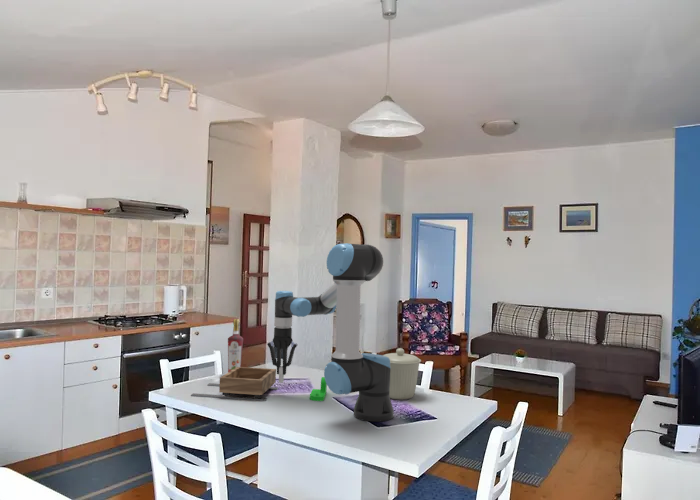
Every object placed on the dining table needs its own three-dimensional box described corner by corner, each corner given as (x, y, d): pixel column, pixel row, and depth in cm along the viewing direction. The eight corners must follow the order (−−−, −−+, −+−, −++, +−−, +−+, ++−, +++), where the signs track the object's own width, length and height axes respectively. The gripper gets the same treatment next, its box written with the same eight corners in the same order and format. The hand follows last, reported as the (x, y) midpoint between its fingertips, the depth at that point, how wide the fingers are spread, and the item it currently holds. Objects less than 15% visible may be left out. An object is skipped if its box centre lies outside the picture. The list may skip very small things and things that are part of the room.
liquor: (242, 375, 256) (244, 318, 256) (240, 379, 249) (242, 320, 249) (227, 375, 255) (229, 318, 256) (225, 379, 248) (227, 320, 248)
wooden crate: (261, 399, 213) (262, 380, 213) (219, 396, 215) (219, 377, 215) (275, 386, 234) (275, 369, 235) (236, 383, 236) (237, 366, 237)
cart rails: (265, 400, 213) (265, 399, 213) (190, 396, 217) (190, 394, 217) (278, 388, 233) (278, 387, 233) (209, 384, 237) (209, 383, 237)
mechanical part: (312, 393, 228) (313, 375, 228) (326, 394, 227) (327, 376, 228) (308, 401, 216) (309, 381, 216) (323, 401, 215) (323, 382, 216)
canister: (384, 389, 238) (385, 343, 238) (423, 394, 232) (425, 347, 232) (372, 399, 221) (374, 349, 221) (414, 404, 215) (416, 353, 215)
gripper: (299, 326, 226) (297, 380, 226) (270, 325, 228) (268, 379, 228) (296, 328, 219) (294, 385, 219) (265, 327, 220) (263, 383, 220)
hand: (281, 382), depth 223 cm, fingers closed
